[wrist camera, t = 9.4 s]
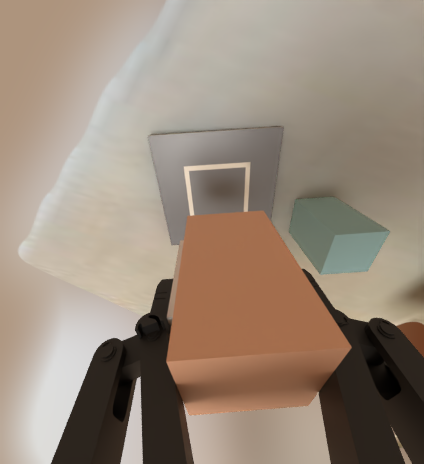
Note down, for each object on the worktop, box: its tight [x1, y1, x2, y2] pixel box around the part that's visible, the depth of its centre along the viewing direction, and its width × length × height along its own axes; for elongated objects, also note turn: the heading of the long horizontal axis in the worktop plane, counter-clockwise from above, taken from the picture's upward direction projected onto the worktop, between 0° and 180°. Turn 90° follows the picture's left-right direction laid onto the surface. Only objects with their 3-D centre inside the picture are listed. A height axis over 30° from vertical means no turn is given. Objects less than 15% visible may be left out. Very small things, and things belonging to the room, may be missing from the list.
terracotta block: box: [166, 211, 352, 415], centre depth 12 cm, size 6×6×10 cm
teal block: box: [289, 197, 390, 275], centre depth 25 cm, size 6×6×10 cm
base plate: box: [148, 126, 284, 245], centre depth 26 cm, size 16×16×2 cm
